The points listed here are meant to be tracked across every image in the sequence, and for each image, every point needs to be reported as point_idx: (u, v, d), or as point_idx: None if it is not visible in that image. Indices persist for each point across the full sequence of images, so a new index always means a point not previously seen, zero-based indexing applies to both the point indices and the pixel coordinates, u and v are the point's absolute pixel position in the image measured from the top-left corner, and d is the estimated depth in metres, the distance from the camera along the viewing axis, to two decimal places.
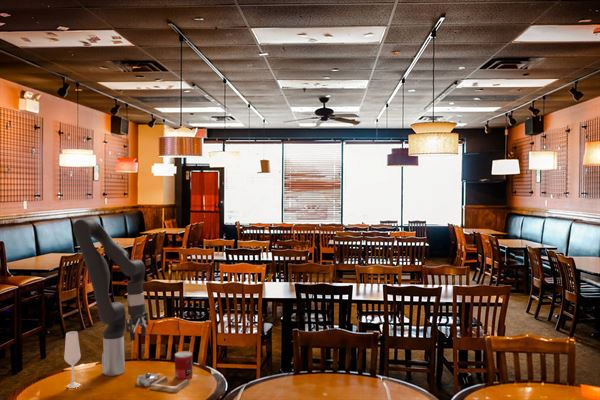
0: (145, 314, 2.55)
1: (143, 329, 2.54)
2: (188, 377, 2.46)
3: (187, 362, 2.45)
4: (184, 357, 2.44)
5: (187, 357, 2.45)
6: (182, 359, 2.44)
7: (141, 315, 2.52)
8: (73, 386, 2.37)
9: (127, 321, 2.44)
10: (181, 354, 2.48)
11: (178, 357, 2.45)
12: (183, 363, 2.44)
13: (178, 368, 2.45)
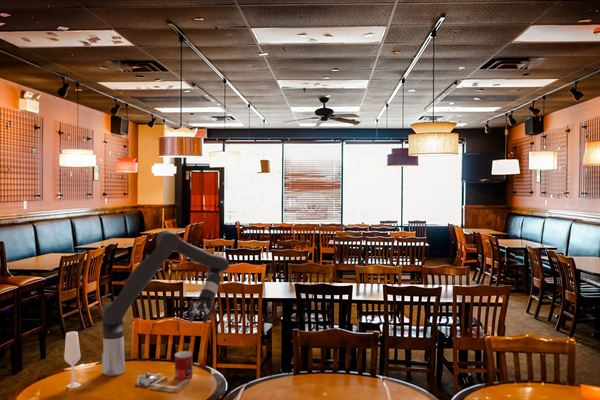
0: None
1: (193, 316, 2.62)
2: (188, 377, 2.46)
3: (187, 362, 2.45)
4: (184, 357, 2.44)
5: (187, 357, 2.45)
6: (182, 359, 2.44)
7: None
8: (73, 386, 2.37)
9: (215, 305, 2.62)
10: (181, 354, 2.48)
11: (178, 357, 2.45)
12: (183, 363, 2.44)
13: (178, 368, 2.45)
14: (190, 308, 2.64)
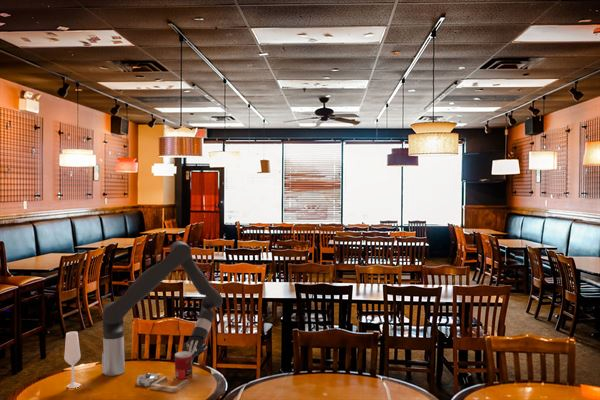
0: None
1: None
2: (188, 377, 2.45)
3: (187, 362, 2.45)
4: (184, 357, 2.44)
5: (187, 357, 2.45)
6: (181, 359, 2.44)
7: None
8: (73, 386, 2.37)
9: (204, 348, 2.55)
10: (181, 354, 2.48)
11: (178, 357, 2.44)
12: (183, 363, 2.44)
13: (178, 368, 2.45)
14: (186, 348, 2.56)
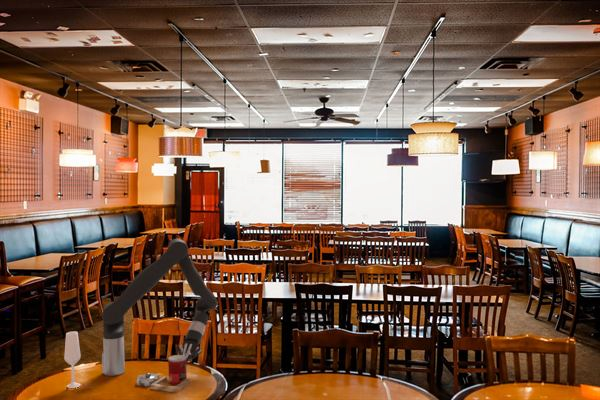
0: None
1: None
2: (182, 381, 2.40)
3: (181, 366, 2.40)
4: (178, 361, 2.39)
5: (181, 361, 2.40)
6: (176, 363, 2.39)
7: None
8: (73, 386, 2.37)
9: (199, 351, 2.50)
10: (175, 358, 2.43)
11: (172, 361, 2.39)
12: (177, 367, 2.39)
13: (172, 373, 2.39)
14: (180, 352, 2.51)
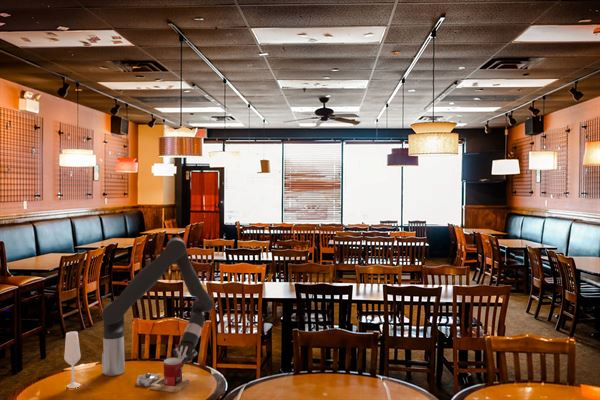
0: None
1: None
2: None
3: (177, 369, 2.36)
4: (173, 364, 2.35)
5: (177, 364, 2.36)
6: (171, 366, 2.35)
7: None
8: (73, 386, 2.37)
9: (194, 354, 2.46)
10: (170, 361, 2.39)
11: (167, 364, 2.35)
12: (172, 370, 2.35)
13: (167, 376, 2.36)
14: (176, 355, 2.47)
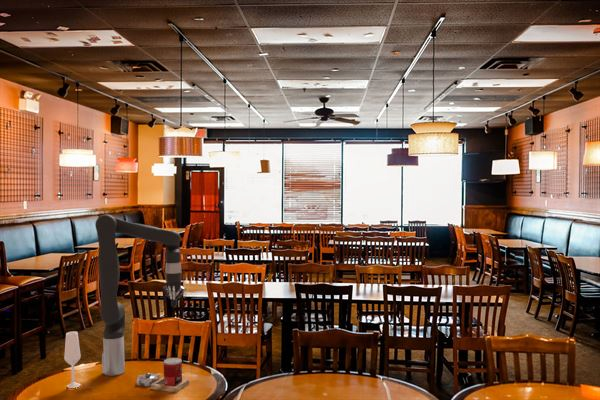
0: None
1: None
2: None
3: (177, 369, 2.36)
4: (173, 364, 2.35)
5: (177, 364, 2.36)
6: (171, 366, 2.35)
7: None
8: (73, 386, 2.37)
9: (183, 291, 2.61)
10: (170, 361, 2.39)
11: (167, 364, 2.35)
12: (172, 370, 2.35)
13: (167, 376, 2.36)
14: (167, 294, 2.63)
